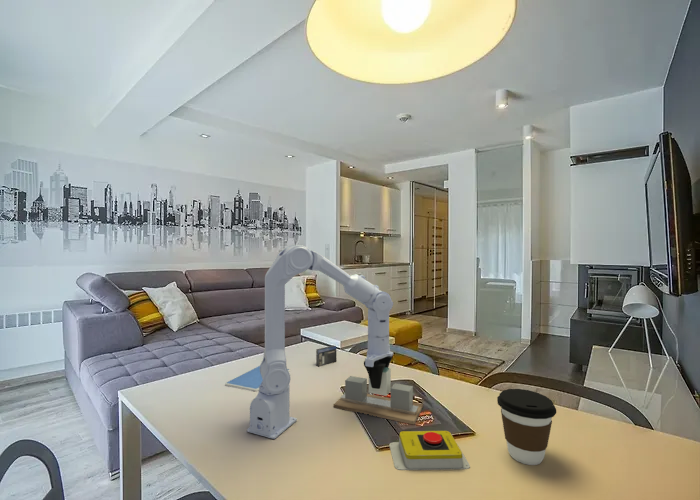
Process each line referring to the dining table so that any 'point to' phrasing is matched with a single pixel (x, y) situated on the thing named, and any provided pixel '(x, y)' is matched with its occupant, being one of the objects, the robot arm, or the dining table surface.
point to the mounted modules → (399, 393)
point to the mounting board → (379, 410)
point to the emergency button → (427, 451)
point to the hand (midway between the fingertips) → (378, 385)
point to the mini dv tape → (325, 355)
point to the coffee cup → (526, 423)
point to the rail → (380, 404)
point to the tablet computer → (248, 380)
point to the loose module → (383, 383)
